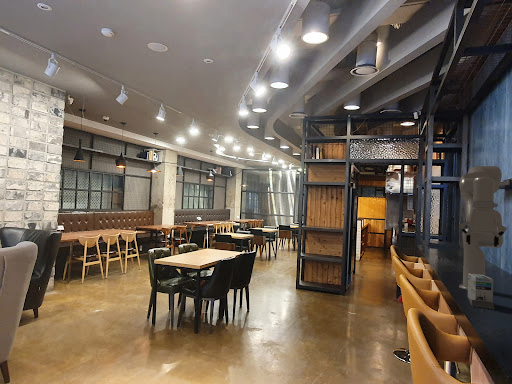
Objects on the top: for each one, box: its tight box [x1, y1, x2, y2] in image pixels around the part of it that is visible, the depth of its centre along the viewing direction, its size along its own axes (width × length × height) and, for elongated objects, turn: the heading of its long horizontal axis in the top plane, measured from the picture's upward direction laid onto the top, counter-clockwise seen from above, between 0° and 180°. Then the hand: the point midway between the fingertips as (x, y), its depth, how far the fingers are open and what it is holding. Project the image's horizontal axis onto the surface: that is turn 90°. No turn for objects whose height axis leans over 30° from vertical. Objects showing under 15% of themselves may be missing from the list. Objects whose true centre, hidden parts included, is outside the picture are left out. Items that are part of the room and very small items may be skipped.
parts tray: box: [468, 298, 495, 310], centre depth 150 cm, size 15×8×3 cm, turn 153°
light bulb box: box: [467, 273, 494, 303], centre depth 151 cm, size 11×7×11 cm, turn 165°
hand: (481, 245), depth 152 cm, fingers open, 9 cm apart
